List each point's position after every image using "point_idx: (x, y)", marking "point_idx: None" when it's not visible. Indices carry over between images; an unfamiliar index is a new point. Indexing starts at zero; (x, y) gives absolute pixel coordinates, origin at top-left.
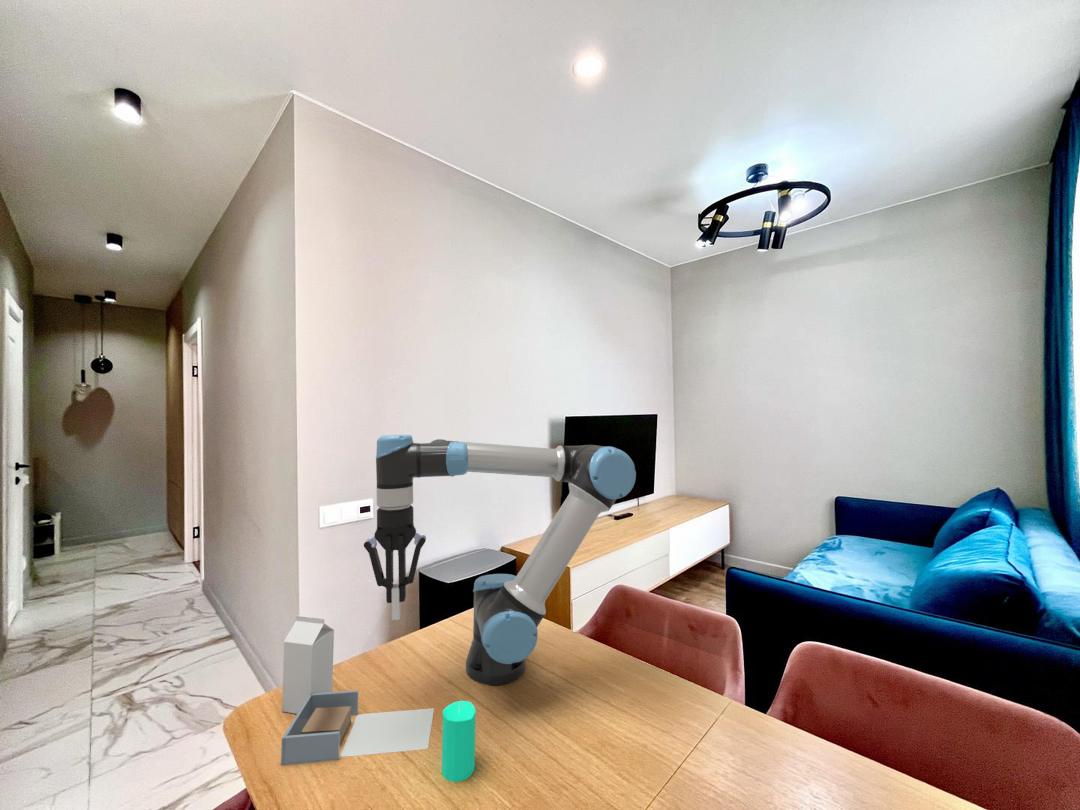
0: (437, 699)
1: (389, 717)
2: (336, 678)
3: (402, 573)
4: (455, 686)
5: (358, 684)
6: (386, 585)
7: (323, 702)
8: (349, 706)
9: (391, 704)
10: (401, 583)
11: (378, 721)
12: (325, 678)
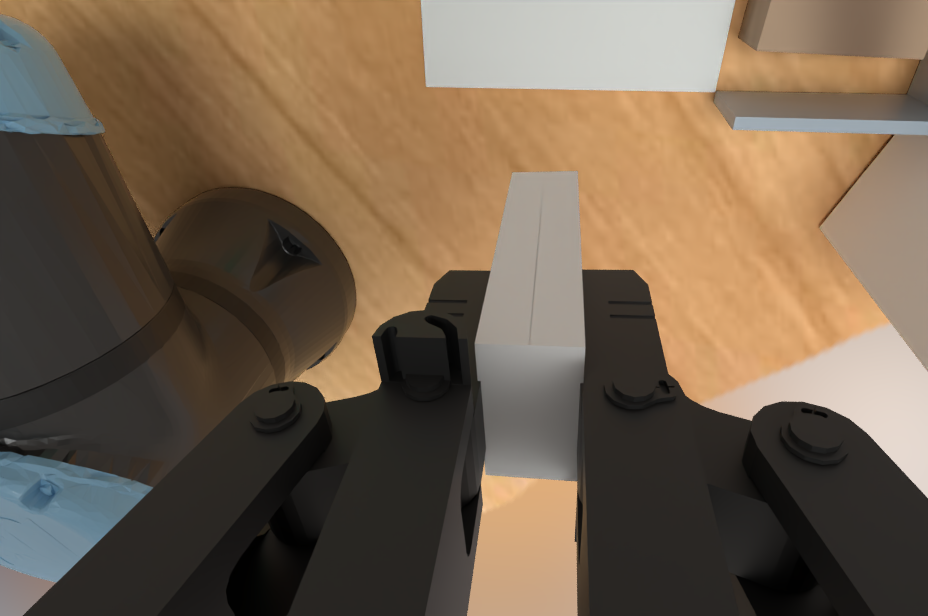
0: (424, 144)
1: (586, 53)
2: (802, 326)
3: (357, 544)
4: (374, 207)
5: (718, 278)
6: (676, 401)
7: (882, 110)
8: (764, 49)
9: (587, 142)
10: (423, 393)
11: (628, 32)
12: (888, 231)
